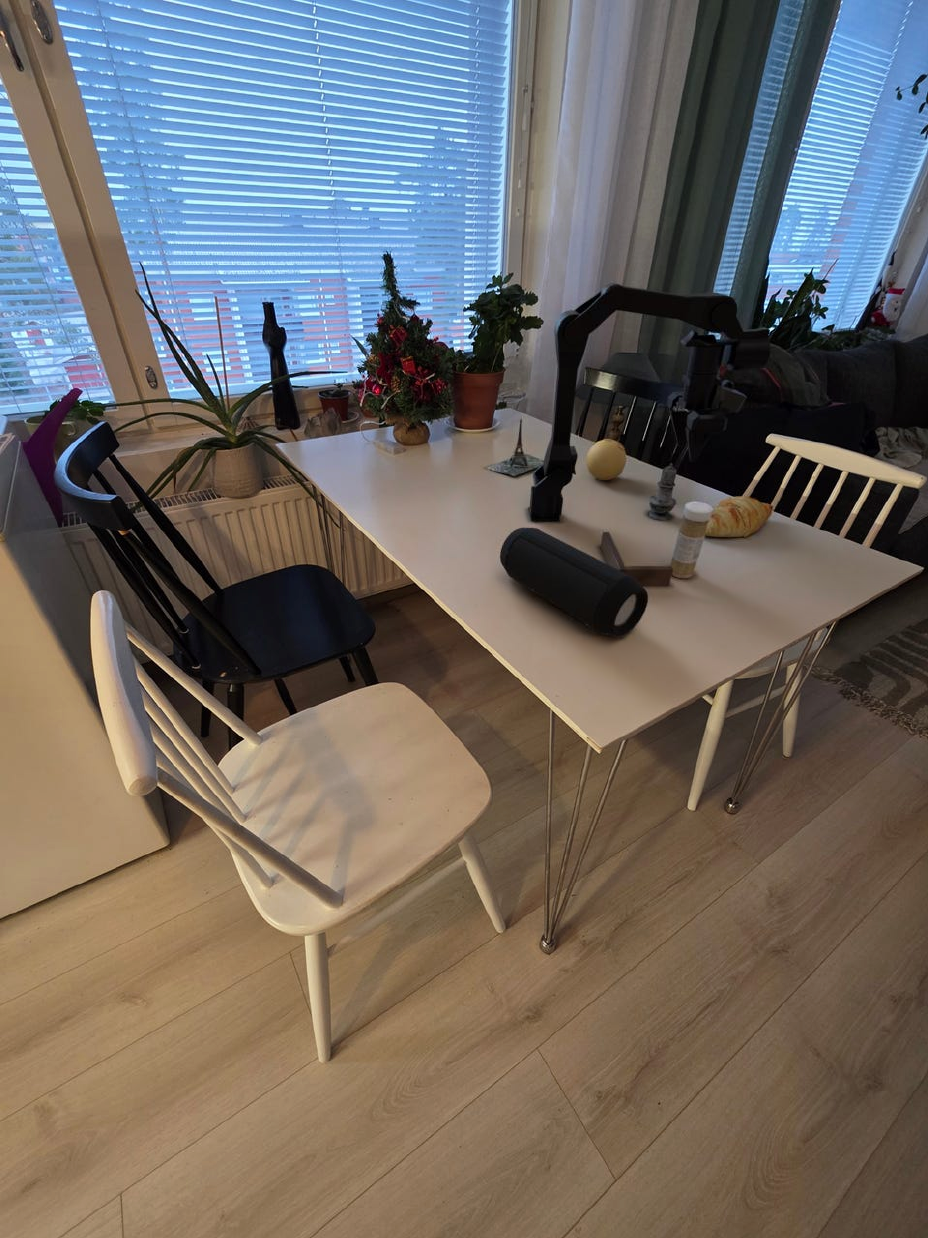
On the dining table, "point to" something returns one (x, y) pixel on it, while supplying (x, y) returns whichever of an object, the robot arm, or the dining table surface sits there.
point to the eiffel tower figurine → (518, 460)
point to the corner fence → (640, 573)
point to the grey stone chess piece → (663, 496)
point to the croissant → (738, 517)
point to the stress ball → (606, 459)
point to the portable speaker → (574, 581)
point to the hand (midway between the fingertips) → (686, 453)
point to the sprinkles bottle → (690, 538)
